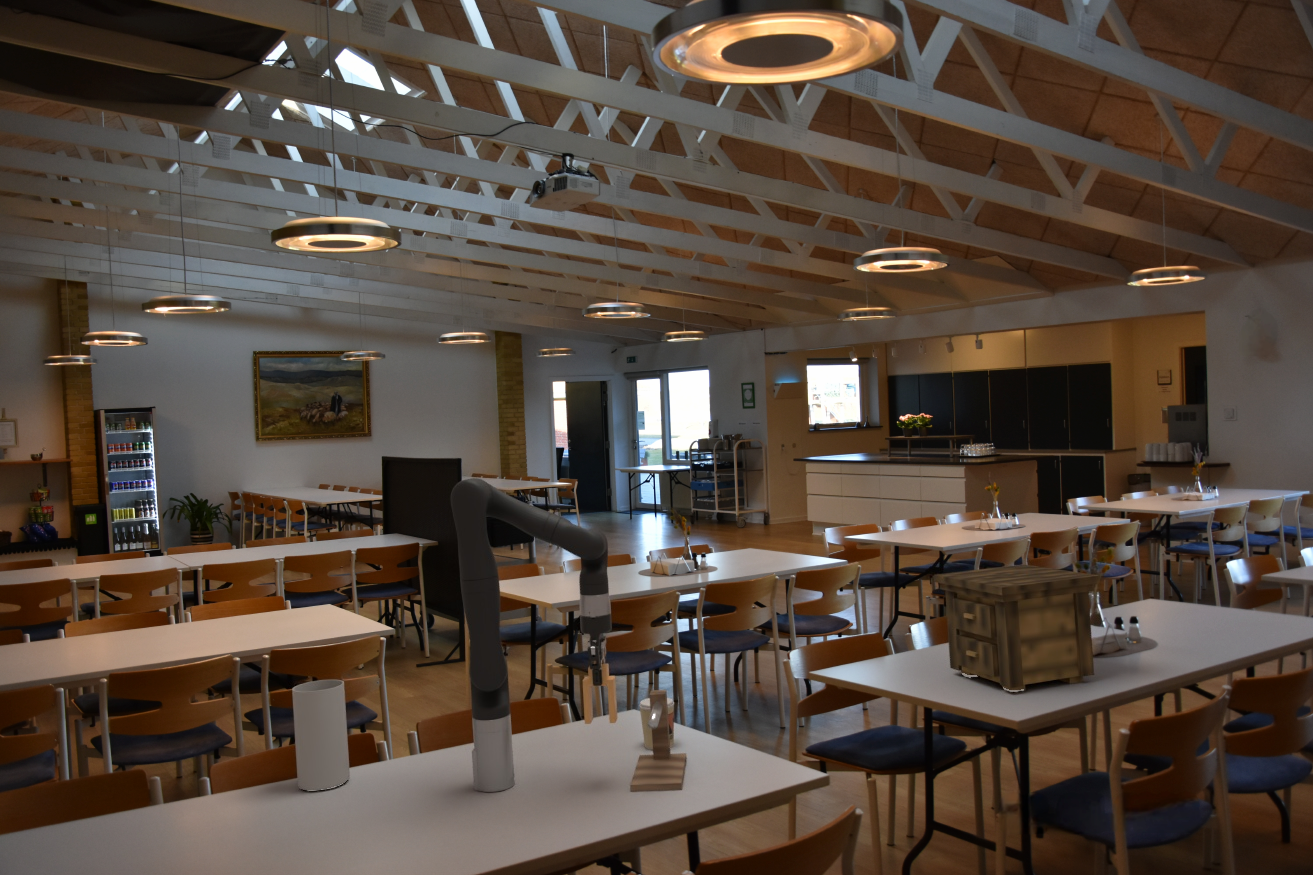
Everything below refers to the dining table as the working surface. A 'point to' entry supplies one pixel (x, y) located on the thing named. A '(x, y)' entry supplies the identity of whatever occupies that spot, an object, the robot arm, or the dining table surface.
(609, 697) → the forked wooden block
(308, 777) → the cylinder vase
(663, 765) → the hook rack
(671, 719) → the coffee cup
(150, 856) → the dining table surface
